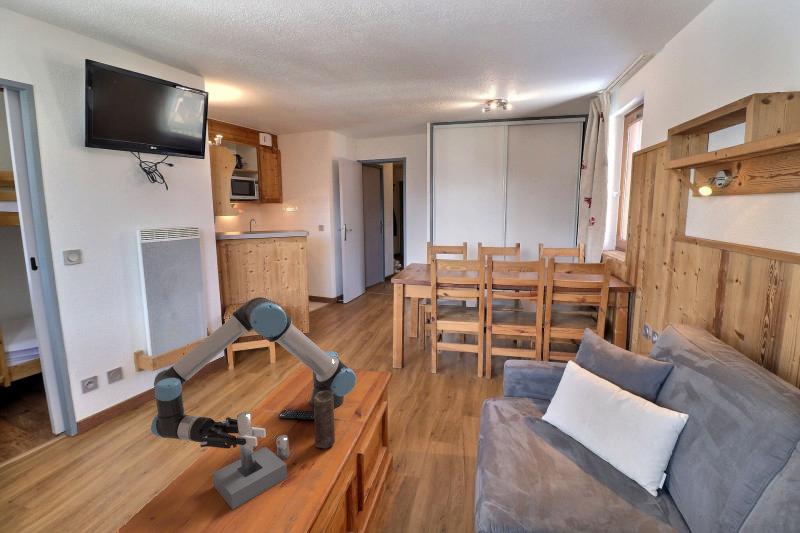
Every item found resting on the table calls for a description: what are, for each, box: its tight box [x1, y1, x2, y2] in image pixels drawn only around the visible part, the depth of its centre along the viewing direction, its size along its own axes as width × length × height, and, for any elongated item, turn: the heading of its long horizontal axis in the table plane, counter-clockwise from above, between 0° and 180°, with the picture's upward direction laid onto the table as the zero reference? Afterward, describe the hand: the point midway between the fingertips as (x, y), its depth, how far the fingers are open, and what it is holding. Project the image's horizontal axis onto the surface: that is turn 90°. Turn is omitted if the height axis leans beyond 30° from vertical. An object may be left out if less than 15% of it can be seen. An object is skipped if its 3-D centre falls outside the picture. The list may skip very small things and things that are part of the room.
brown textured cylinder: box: [313, 391, 336, 449], centre depth 141 cm, size 8×7×20 cm
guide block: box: [212, 446, 288, 510], centre depth 123 cm, size 18×14×5 cm
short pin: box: [275, 434, 290, 461], centre depth 136 cm, size 4×4×7 cm
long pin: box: [236, 411, 255, 468], centre depth 121 cm, size 4×4×17 cm
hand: (260, 437), depth 120 cm, fingers closed on long pin, 4 cm apart
